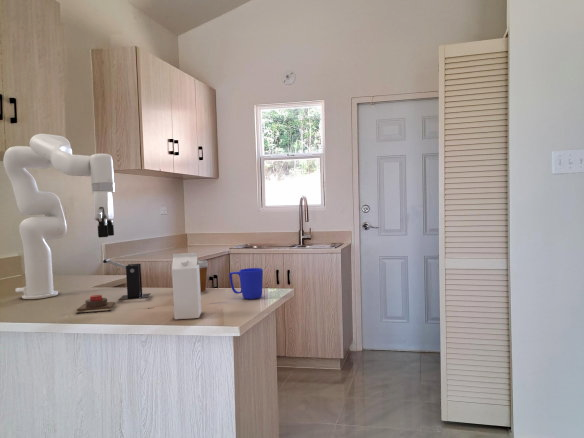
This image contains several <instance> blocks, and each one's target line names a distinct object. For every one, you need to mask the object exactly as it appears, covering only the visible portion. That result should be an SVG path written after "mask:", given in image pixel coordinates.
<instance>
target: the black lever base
mask: <svg viewBox="0 0 584 438" xmlns="http://www.w3.org/2000/svg"><path fill="white" fill-rule="evenodd" d="M125 275H126V276H125V277H126V278H125V279H126V292H127V293H126V294H123V295H121V296H120V298H119V299H118V301H128V300H138V299H140V300H141V299H149V297H150V296H151V292H150V293H149V292H148V293H143V281H142V263H128V264H127V265H126V269H125Z"/></svg>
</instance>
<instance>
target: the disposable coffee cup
mask: <svg viewBox="0 0 584 438" xmlns="http://www.w3.org/2000/svg"><path fill="white" fill-rule="evenodd" d="M198 262H199V272H200V291H201V292H205V291H206V290H207V289H206V288H207V274H208V268H209V267H208V266H209V263H208V261H207V260H204V259H202V260H200V259H198Z"/></svg>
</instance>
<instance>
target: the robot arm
mask: <svg viewBox="0 0 584 438" xmlns="http://www.w3.org/2000/svg"><path fill="white" fill-rule="evenodd" d="M113 161H114V160H113V156H112V155H111V154H109V153H94V154H93V153H92V154H91V155H85V154H84V155H83V154H73V150H72V146H71V143H70V141H69V140H68V138H66V137H65V136H62V135H57V134H49V133H38V134H34V135H33V136H32V137H31V138H30V140H29V146H27V145H26V146H25V145H15V146H11V147H9V148H7V149H6V151H5V152H4V154H3V161H2V162H3V167H4V171H5V173H6V175H7V177H8V179H9V182H10V183H11V187H12V190H13V191H12V192H13V196H14V199H15V203H16V206H17V209H18V211H19V213H20V214H22V215H25V216H32V217H27V218H25V219H23V220H22V221H21V222H20V224H19V227H18V230H19V235H20V238H21V243H22V250H23V260H24V262H23V263H24V274H25V276H24V277H25V285H24V286H23V287H15V289H14V291H15V293H16V294H22V293H23V294H22V295H21V298H22V299H23V300H39V299H46V298H52V297H55V296H58V295H59V290H54V276H53V261H52V260H53V259H52V258H53V257H52V251H51V250H52V249H51V248H50V245H48V243H47V242H46V241H51V240H52V241H53V240H59V239H62V238H64V237H65V236H66V234H67V231H68V225H67V221H66V217H65V213H64V209H63V205H62V203H61V200H60V197H59V196H58V195H57V194H56V193H55V192H52V191H47V190H46V191H45V190H44V191H43V190H42V191H41V190H39V188H38V184H37V181H36V179H35V177H34V176H33V175H32V174H31V172H29V171H28V170H27V169H42V170H45V169H46V170H47V169H50V168H52V167H53V168H54V169H55V170H56V171H58V172H60V173H62V174H64V175H67V176H71V177H90V183H91V193H92V194H93V219H94V221H97V237H98V238H99V239H100V238H109V237H112V236H114V235H115V229H114V220H113V219H114V217H115V215H114V214H115V213H114V201H113V193H115V192H116V191H115V189H116V188H115V177H114V176H115V173H114V162H113ZM40 215H41V216H40ZM42 215H44V216H42Z"/></svg>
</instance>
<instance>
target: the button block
mask: <svg viewBox="0 0 584 438" xmlns="http://www.w3.org/2000/svg"><path fill="white" fill-rule="evenodd" d="M84 302H85V303H83V304H82V305H81V306H79V307H78V308H77V310H76V313H77V315H82V314H84V315H85V314H95V313H96V314H97V313H108V312H111V311H112V309H111V308H112V307H113V306H114V305H116V302H115V301H108V298H107V297H102V300H99V301H90V298H89V299H86V300H85V301H84Z"/></svg>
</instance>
